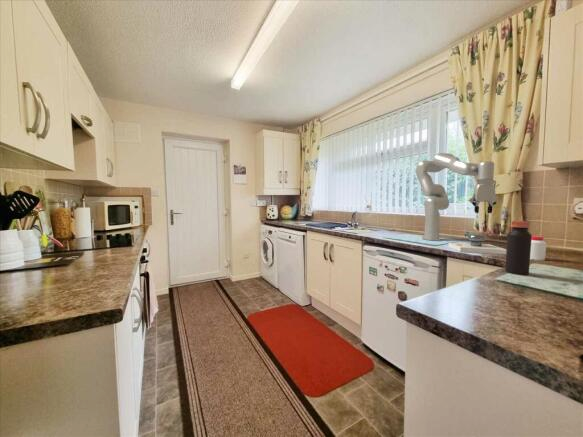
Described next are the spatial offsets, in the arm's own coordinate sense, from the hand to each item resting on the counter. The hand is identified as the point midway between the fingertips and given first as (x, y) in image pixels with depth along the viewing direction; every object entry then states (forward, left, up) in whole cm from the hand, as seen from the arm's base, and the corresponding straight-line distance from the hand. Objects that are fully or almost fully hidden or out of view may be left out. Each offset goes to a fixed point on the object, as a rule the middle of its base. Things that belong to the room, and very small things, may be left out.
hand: (483, 212), depth 144 cm
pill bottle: (+25, +12, -22) cm, 35 cm away
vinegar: (+58, -13, -22) cm, 63 cm away
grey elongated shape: (+4, -7, -19) cm, 20 cm away
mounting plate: (+9, -6, -22) cm, 24 cm away
